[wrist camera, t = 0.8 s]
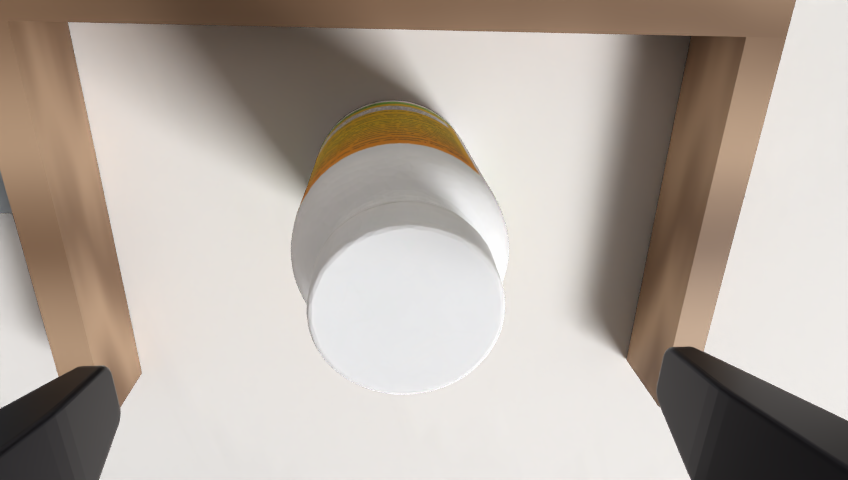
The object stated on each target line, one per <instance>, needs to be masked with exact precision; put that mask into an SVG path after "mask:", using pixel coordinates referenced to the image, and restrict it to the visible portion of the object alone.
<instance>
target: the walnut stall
mask: <svg viewBox="0 0 848 480" xmlns="http://www.w3.org/2000/svg"><path fill="white" fill-rule="evenodd" d="M795 2H796V0H0V171H1V175H2V178H3V182H4V185H5V189H6V192H7V196H8V199H9V203H10V206H11V210H12V213H13V217H14V220H15V224H16V228H17V231H18V235H19V238H20V242H21V245H22V249H23V252H24V256H25V259H26V263H27V266H28V270H29V273H30V277H31V281H32V284H33V288H34V291H35V295H36V298H37V302H38V305H39V309H40V312H41V316H42V319H43V323H44V326H45V330H46V333H47V337H48V341H49V344H50V348H51V351H52V355H53V358H54V362H55V365H56V369H57V372H58V376H59V377H60V376H61V375H63V374H65V373H67V372H69V371H71V370H73V369H74V368H76V367H79V366H99V365H104V366H106V367H108V368H109V369H110V371H111V373H112V376H113V380H114V384H115V388H116V392H117V396H118V401H119V405H120V407H121V405H122V404H123V402H124V401H125V399H126V397H127V396H128V394H129V393H130V391H131V390H132V388H133V386H134V385H135V383H136V382H137V380H138V378H139V377H140V375H141V374H142V372H141V367H140V362H139V358H138V353H137V348H136V343H135V339H134V334H133V329H132V324H131V320H130V315H129V310H128V306H127V301H126V296H125V291H124V287H123V282H122V277H121V272H120V268H119V263H118V258H117V254H116V249H115V244H114V239H113V235H112V230H111V225H110V220H109V216H108V211H107V206H106V202H105V197H104V192H103V187H102V183H101V178H100V173H99V168H98V164H97V159H96V154H95V150H94V145H93V140H92V135H91V131H90V126H89V121H88V116H87V112H86V107H85V102H84V97H83V93H82V88H81V83H80V79H79V74H78V69H77V64H76V60H75V55H74V50H73V45H72V41H71V36H70V31H69V27H68V22H91V23H136V24H181V25H227V26H272V27H317V28H363V29H408V30H453V31H499V32H544V33H589V34H634V35H680V36H691V40H690V45H689V50H688V55H687V60H686V65H685V70H684V75H683V80H682V85H681V90H680V95H679V100H678V105H677V110H676V115H675V120H674V125H673V130H672V135H671V140H670V145H669V150H668V155H667V160H666V165H665V170H664V175H663V180H662V185H661V190H660V195H659V200H658V205H657V210H656V215H655V220H654V225H653V230H652V235H651V240H650V245H649V250H648V255H647V260H646V265H645V270H644V275H643V280H642V285H641V290H640V295H639V300H638V305H637V310H636V315H635V320H634V325H633V330H632V335H631V340H630V345H629V350H628V355H627V361H628V363H629V364H630V366H631V367H632V369H633V370H634V372H635V373H636V374H637V376H638V377H639V379H640V380H641V382H642V383H643V384H644V386H645V387H646V389H647V390H648V392H649V393H650V395H651V396H652V397H653V399H654V400H655V402H656V403H657V405H658V406H659V407H660V405H659V402H658V399H657V393H656V388H657V382H658V378H659V373H660V369H661V364H662V360H663V356H664V353H665V351H666V350H667V349H668V348H670V347H688V346H690V347H694V348H697V349H699V350H701V351H704V348H705V344H706V340H707V336H708V332H709V329H710V325H711V321H712V317H713V313H714V310H715V306H716V302H717V298H718V294H719V291H720V287H721V283H722V279H723V275H724V272H725V268H726V264H727V260H728V256H729V253H730V249H731V245H732V241H733V237H734V234H735V230H736V226H737V222H738V218H739V215H740V211H741V207H742V203H743V199H744V196H745V192H746V188H747V184H748V180H749V177H750V173H751V169H752V165H753V161H754V158H755V154H756V150H757V146H758V142H759V139H760V135H761V131H762V127H763V123H764V119H765V116H766V112H767V108H768V104H769V100H770V97H771V93H772V89H773V85H774V81H775V78H776V74H777V70H778V66H779V62H780V59H781V55H782V51H783V47H784V43H785V40H786V36H787V32H788V28H789V24H790V21H791V17H792V13H793V9H794V5H795Z"/></svg>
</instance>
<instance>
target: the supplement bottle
mask: <svg viewBox="0 0 848 480" xmlns="http://www.w3.org/2000/svg"><path fill="white" fill-rule="evenodd" d="M508 257H509V241H508V233H507V228H506V223H505V220H504V217H503V214H502V211H501V209H500V207H499V204H498V202H497V200H496V198H495V196H494V194H493V193H492V191H491V189H490V188H489V186H488V184H487V183H486V181H485V179H484V178H483V176H482V174H481V173H480V171H479V169H478V167H477V166H476V164H475V162H474V161H473V159H472V157H471V155H470V154H469V152H468V150H467V149H466V147H465V145H464V143H463V142H462V140H461V139H460V137H459V136H458V134H457V133H456V132H455V130H454V129H453V128H452V127H451V126H450V125H449V124H448V122H446V121H445V120H444V119H443V118H442V117H440V116H439V115H438V114H436V113H435V112H433V111H431V110H429V109H427V108H425V107H423V106H420V105H418V104H415V103H411V102H406V101H397V100H389V101H380V102H375V103H371V104H368V105H365V106H363V107H360V108H358V109H356V110H354V111H353V112H351V113H349V114H348V115H346V116H345V117H344V118H343V119H342V120H340V121H339V122H338V123H337V124H336V125H335V126H334V128H333V129H332V130H331V131H330V133H329V134H328V136H327V137H326V139H325V141H324V143H323V144H322V147H321V149H320V151H319V154H318V156H317V159H316V163H315V166H314V168H313V171H312V174H311V177H310V180H309V183H308V186H307V188H306V191H305V193H304V196H303V199H302V201H301V204H300V207H299V209H298V212H297V215H296V219H295V223H294V228H293V233H292V240H291V260H292V268H293V273H294V277H295V280H296V283H297V285H298V288H299V290H300V293H301V295H302V297H303V299H304V300H305V302H306V304H307V319H308V326H309V330H310V333H311V336H312V339H313V341H314V344H315V346H316V348H317V349H318V351H319V352H320V354H321V355H322V357H323V358H324V360H325V361H326V362H327V363H328V364H329V365H330V366H331V367H332V368H333V369H334V370H335V371H337V372H338V373H339V374H340V375H342V376H343V377H344V378H346V379H348V380H349V381H351V382H353V383H355V384H357V385H359V386H361V387H364V388H366V389H370V390H373V391H377V392H382V393H386V394H398V395H407V394H419V393H425V392H430V391H434V390H437V389H439V388H443V387H445V386H448V385H450V384H452V383H454V382H456V381H458V380H460V379H461V378H463V377H464V376H466V375H467V374H469V373H470V372H471V371H472V370H474V369H475V368H476V367H477V366H478V365H479V364H480V363H481V362H482V361H483V360H484V359H485V358H486V356H487V355H488V354H489V353H490V351H491V349H492V348H493V346H494V344H495V343H496V341H497V339H498V337H499V334H500V331H501V329H502V325H503V321H504V315H505V294H504V289H503V284H502V282H503V279H504V276H505V273H506V269H507V264H508Z"/></svg>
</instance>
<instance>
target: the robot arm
mask: <svg viewBox="0 0 848 480" xmlns="http://www.w3.org/2000/svg"><path fill="white" fill-rule="evenodd" d="M656 393H657V399H658V402H659V405H660V407H661V410H662V412H663V415H664V417H665V419H666V422H667V424H668V427H669V429H670V431H671V434H672V436H673V439H674V441H675V443H676V446H677V448H678V451H679V453H680V455H681V458H682V460H683V462H684V465H685V467H686V470H687V472H688V474H689V476H690V478H691V480H848V421H847V420H845V419H843V418H841V417H839V416H837V415H835V414H833V413H831V412H828V411H826V410H824V409H822V408H820V407H818V406H816V405H814V404H812V403H810V402H807V401H805V400H803V399H801V398H799V397H797V396H795V395H793V394H791V393H789V392H787V391H784V390H782V389H780V388H778V387H776V386H774V385H772V384H770V383H768V382H766V381H764V380H761V379H759V378H757V377H755V376H753V375H751V374H749V373H747V372H745V371H743V370H741V369H738V368H736V367H734V366H732V365H730V364H728V363H726V362H724V361H722V360H720V359H718V358H715V357H713V356H711V355H709V354H707V353H705V352H703V351H701V350H699V349H697V348H694V347H690V346H688V347H670V348H668V349H667V350H666V351H665V353H664V356H663V360H662V364H661V369H660V373H659V378H658V382H657V388H656ZM119 421H120V405H119V401H118V396H117V392H116V388H115V384H114V380H113V376H112V373H111V371H110V369H109V368H108V367H106V366H104V365H99V366H79V367H76V368H74V369H73V370H71V371H69V372H67V373H65V374H63V375H61V376H60V377H58V378H56V379H54V380H52V381H50V382H49V383H47V384H45V385H43V386H41V387H39V388H38V389H36V390H34V391H32V392H30V393H28V394H27V395H25V396H23V397H21V398H19V399H17V400H15V401H14V402H12V403H10V404H8V405H6V406H4V407H3V408H1V409H0V480H99V478H100V475H101V473H102V470H103V467H104V464H105V461H106V458H107V456H108V453H109V450H110V447H111V444H112V442H113V439H114V436H115V433H116V430H117V428H118V425H119Z"/></svg>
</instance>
